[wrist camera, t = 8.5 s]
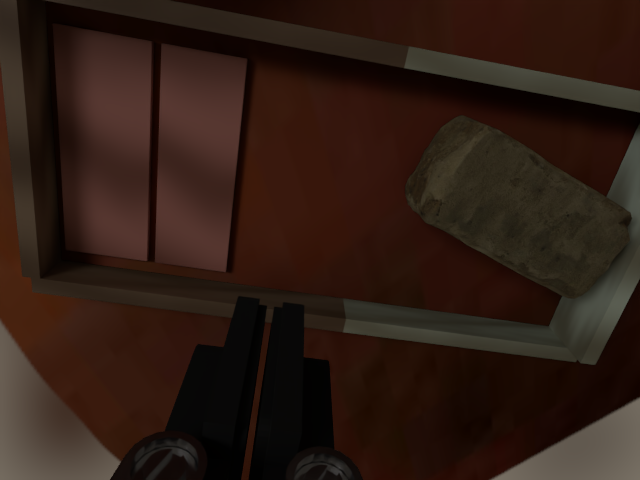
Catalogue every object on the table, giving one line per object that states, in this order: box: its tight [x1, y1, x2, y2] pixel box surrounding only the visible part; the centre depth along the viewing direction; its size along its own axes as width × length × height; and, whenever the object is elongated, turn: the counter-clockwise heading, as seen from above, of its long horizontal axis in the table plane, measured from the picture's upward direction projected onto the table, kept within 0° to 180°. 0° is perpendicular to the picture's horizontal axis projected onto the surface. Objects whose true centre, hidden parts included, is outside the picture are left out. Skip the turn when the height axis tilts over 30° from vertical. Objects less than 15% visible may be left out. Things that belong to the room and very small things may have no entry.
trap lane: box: [0, 0, 640, 365], centre depth 25 cm, size 17×36×4 cm, turn 80°
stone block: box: [405, 115, 632, 299], centre depth 25 cm, size 6×12×5 cm, turn 62°
